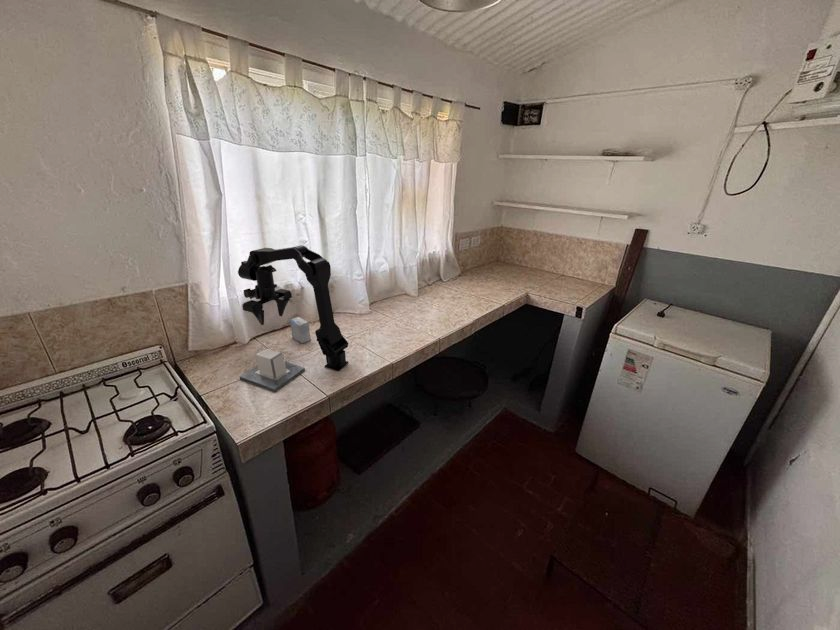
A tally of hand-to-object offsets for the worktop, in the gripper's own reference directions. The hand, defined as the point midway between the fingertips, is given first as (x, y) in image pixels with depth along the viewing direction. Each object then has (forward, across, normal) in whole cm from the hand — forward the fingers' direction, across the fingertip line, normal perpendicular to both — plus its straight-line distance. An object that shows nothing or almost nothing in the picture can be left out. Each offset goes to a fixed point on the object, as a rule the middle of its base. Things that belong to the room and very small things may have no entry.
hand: (271, 320), depth 128 cm
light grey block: (+11, +15, +14) cm, 23 cm away
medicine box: (+12, -10, +4) cm, 16 cm away
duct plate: (+12, +15, +14) cm, 24 cm away
